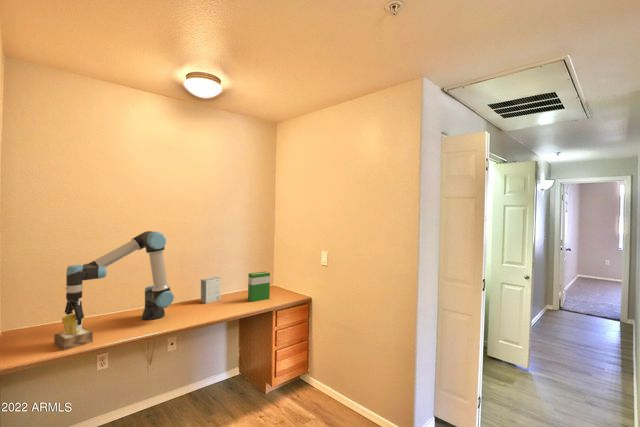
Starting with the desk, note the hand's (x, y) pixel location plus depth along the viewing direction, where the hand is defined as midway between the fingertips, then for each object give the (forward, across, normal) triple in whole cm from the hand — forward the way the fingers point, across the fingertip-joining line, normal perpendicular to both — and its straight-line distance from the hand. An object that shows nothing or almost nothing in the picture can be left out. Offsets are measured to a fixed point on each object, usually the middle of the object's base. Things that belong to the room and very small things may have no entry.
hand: (73, 327), depth 184 cm
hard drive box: (+9, -8, +103) cm, 104 cm away
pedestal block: (+9, 0, 0) cm, 9 cm away
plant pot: (+3, 0, 0) cm, 3 cm away
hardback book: (+9, +23, +131) cm, 133 cm away
